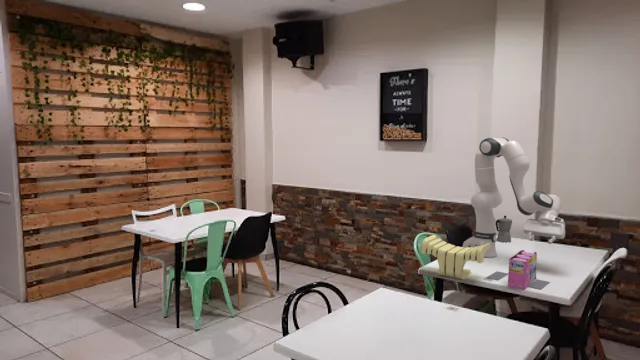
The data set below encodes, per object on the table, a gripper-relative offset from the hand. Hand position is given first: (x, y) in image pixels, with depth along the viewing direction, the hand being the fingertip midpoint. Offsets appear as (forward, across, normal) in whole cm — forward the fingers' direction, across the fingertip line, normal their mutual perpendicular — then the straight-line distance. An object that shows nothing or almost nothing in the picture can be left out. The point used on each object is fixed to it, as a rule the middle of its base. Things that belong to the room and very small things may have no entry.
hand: (540, 241), depth 235 cm
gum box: (+28, 0, -5) cm, 29 cm away
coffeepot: (-31, -41, +56) cm, 76 cm away
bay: (+27, -3, -4) cm, 28 cm away
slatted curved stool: (+37, -30, -13) cm, 50 cm away
